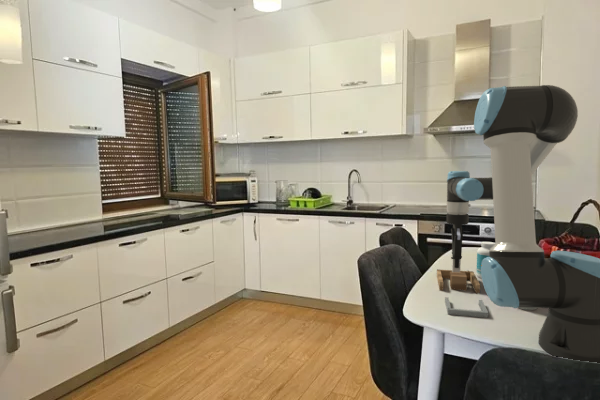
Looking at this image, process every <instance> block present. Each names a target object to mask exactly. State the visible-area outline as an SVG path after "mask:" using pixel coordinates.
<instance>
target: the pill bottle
mask: <svg viewBox="0 0 600 400" xmlns="http://www.w3.org/2000/svg"><path fill="white" fill-rule="evenodd" d="M495 243H496V242H492V241H482V242H480V246H481V247H479V248H478V249H477V251H476V272H475V273H476V274H475V275H476V277H477V278H479V279H482V276H481V263H482V260H483V259H484V258H486V257H489V250H490V249H491V248H492V247H493V246H494V245H495Z"/></svg>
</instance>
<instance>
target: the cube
mask: <svg viewBox="0 0 600 400" xmlns="http://www.w3.org/2000/svg"><path fill="white" fill-rule="evenodd" d="M467 281H468V280H467V276H466V274H465V273H460V272H450V279H449V287H450V290H452V291H454V290H455V291H464V292H465V291H466V292H467V287H468V286H467V285H468V284H467Z"/></svg>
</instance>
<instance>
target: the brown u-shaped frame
mask: <svg viewBox="0 0 600 400" xmlns="http://www.w3.org/2000/svg"><path fill="white" fill-rule="evenodd" d="M450 272H452V269H436V280H437V285H438V290H439V291H442V292H443V291H444V279H449V280H450ZM460 273H465V274H466V276H467V281H470V283H471V285H472V287H473V289H474V292H475V294H481V284H480V281H479V280H478V277H477V275H476V274H475V272H474V271H470V270H460Z"/></svg>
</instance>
